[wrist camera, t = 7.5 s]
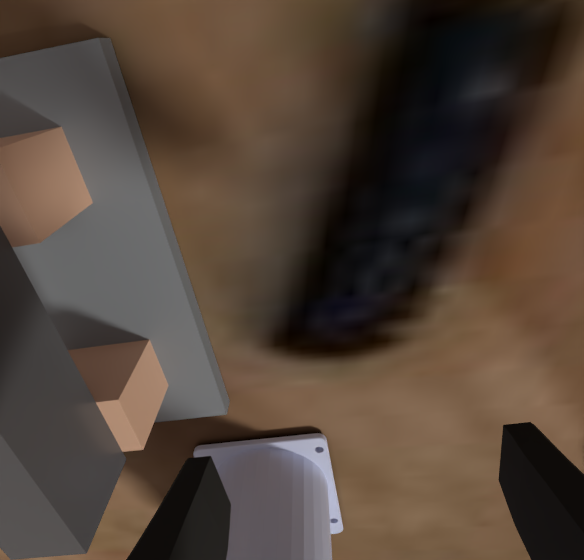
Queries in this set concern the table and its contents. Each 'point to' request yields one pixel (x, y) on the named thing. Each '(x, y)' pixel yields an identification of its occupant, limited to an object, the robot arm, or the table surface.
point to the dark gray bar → (46, 431)
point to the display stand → (101, 239)
